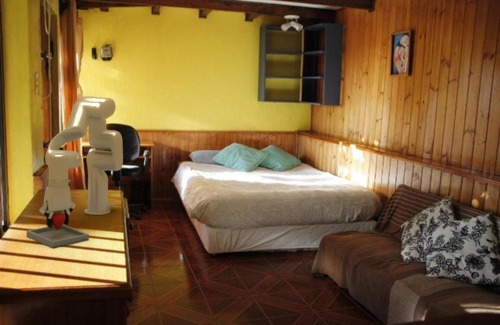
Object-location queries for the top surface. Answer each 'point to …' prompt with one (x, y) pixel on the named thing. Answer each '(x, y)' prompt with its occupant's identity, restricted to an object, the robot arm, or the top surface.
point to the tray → (57, 236)
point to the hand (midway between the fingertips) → (57, 225)
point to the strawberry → (58, 219)
